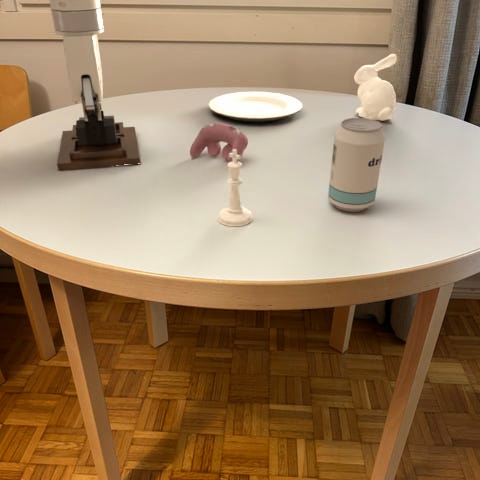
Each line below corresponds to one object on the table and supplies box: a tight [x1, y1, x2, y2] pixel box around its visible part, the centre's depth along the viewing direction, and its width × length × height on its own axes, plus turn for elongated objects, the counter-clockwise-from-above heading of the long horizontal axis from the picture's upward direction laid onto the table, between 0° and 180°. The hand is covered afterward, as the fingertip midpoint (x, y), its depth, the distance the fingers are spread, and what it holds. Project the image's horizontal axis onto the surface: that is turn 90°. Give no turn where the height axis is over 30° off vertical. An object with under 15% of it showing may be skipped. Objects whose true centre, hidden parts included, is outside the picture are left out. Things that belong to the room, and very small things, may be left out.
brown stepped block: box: [56, 115, 142, 171], centre depth 97 cm, size 14×18×4 cm
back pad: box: [75, 117, 117, 145], centre depth 93 cm, size 6×4×3 cm
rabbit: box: [353, 53, 398, 122], centre depth 113 cm, size 12×9×12 cm
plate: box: [208, 91, 303, 123], centre depth 118 cm, size 21×21×2 cm
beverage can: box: [327, 117, 386, 213], centre depth 76 cm, size 7×7×12 cm
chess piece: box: [217, 149, 253, 227], centre depth 73 cm, size 5×5×10 cm
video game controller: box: [189, 122, 249, 164], centre depth 94 cm, size 10×5×7 cm, turn 56°
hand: (97, 138), depth 93 cm, fingers closed on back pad, 4 cm apart
